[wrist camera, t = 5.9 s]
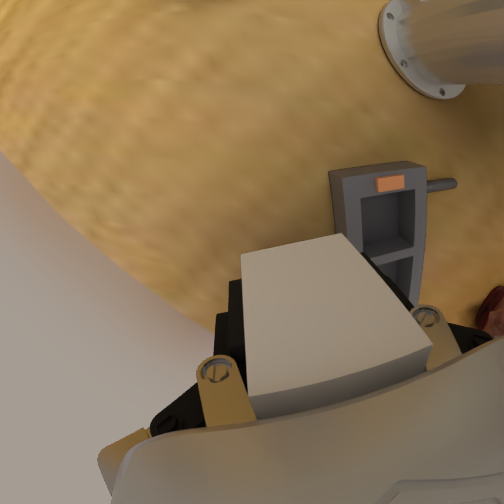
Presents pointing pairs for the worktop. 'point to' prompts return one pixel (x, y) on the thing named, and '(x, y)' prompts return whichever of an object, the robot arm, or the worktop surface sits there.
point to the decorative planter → (492, 314)
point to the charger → (322, 328)
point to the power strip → (386, 217)
